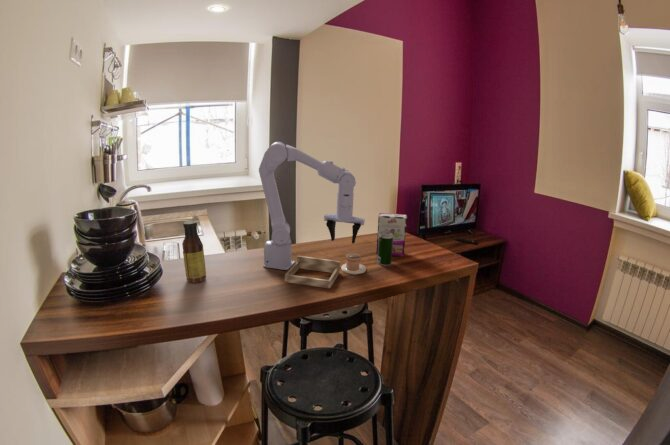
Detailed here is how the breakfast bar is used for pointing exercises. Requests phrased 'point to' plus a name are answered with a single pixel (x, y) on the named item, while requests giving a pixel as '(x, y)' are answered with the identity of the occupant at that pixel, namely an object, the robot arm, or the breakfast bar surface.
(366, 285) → the breakfast bar surface
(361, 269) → the coaster
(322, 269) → the frame
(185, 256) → the sauce bottle
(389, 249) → the beer can
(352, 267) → the flower pot
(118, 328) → the breakfast bar surface
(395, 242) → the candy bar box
